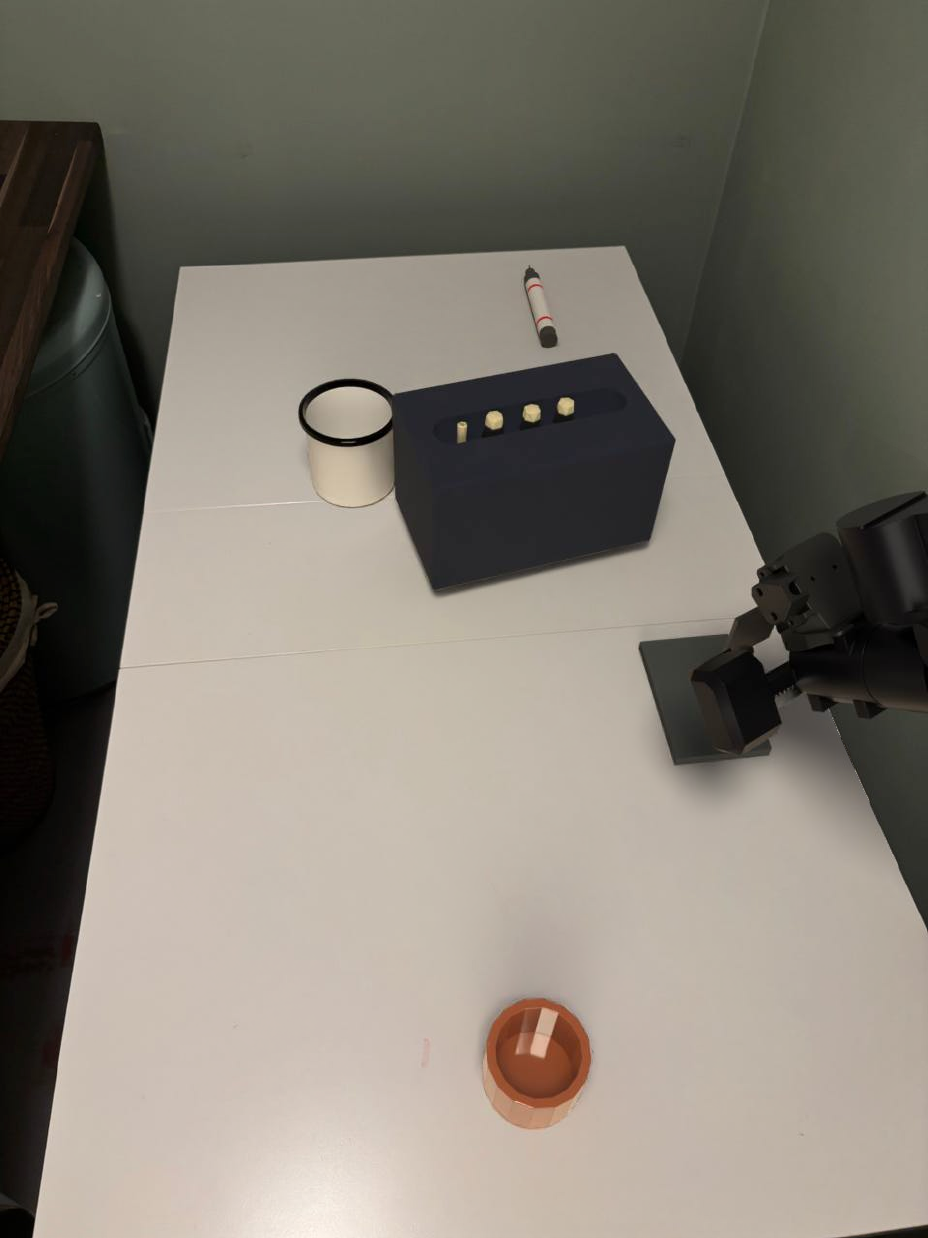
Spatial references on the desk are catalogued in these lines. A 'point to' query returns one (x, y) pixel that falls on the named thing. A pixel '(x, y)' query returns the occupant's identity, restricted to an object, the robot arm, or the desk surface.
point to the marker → (540, 308)
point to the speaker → (528, 468)
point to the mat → (685, 696)
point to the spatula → (748, 631)
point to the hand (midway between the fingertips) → (734, 651)
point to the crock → (535, 1063)
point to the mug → (349, 440)
